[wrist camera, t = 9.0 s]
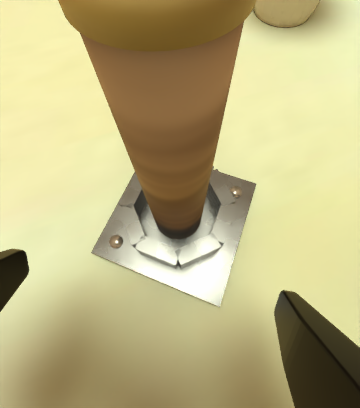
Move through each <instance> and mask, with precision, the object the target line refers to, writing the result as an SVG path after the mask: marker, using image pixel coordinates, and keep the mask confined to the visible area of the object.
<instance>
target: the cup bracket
mask: <svg viewBox="0 0 360 408" xmlns="http://www.w3.org/2000/svg"><path fill="white" fill-rule="evenodd" d="M213 168H214V166H213V167H212V171H211V176H210V180H209V185H208V190H207V194H206V199H205V204H204V208H203V213H202V217H201V222H200V225H199V227H198V229H197V231H196V232H195V233H194V234H193V235H191V236H190V237H187V238H185V239H178V240H177V239H171V238H168V237H166V236H165V235H163V234H162V233H161V232H160V231H159V229H158V227H157V225H156V223H155V220H154V218H153V215H152V212H151V210H150V207H149V205H148V202H147V200H146V197H145V195H144V192H143V190H142V187H141V185H140V182H139V180H138V177H137V175H136V172H135V173H134V174H133V176H132V178H131V180H130V182H129V184H128V186H127V187H126V189H125V191H124V193H123V195H122V197H121V198H120V200H119V202H118V204H117V206H116V208H115V210H114V211H113V213H112V215H111V217H110V219H109V221H108V222H107V224H106V226H105V228H104V230H103V232H102V233H101V235H100V237H99V239H98V241H97V243H96V245H95V246H94V248H93V250H92V252H91V253H93V254H95V255H98V256H100V257H103V258H105V259H107V260H110V261H112V262H114V263H117V264H119V265H121V266H124V267H126V268H129V269H131V270H133V271H136V272H138V273H140V274H143V275H145V276H147V277H150V278H152V279H155V280H157V281H159V282H162V283H164V284H166V285H169V286H171V287H173V288H176V289H178V290H181V291H183V292H185V293H188V294H190V295H192V296H195V297H197V298H200V299H202V300H204V301H207V302H209V303H211V304H214V305H216V306H218V307H220V305H221V301H222V298H223V295H224V291H225V288H226V284H227V281H228V278H229V274H230V271H231V267H232V264H233V261H234V257H235V254H236V251H237V247H238V244H239V240H240V237H241V234H242V230H243V227H244V223H245V220H246V217H247V213H248V210H249V206H250V203H251V200H252V196H253V193H254V190H255V186H256V184H255V183H252V182H249V181H246V180H243V179H240V178H236V177H233V176H230V175H227V174H224V173H221V172H219V171H218V170H217V169H216V170H213Z"/></svg>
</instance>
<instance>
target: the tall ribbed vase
mask: <svg viewBox="0 0 360 408" xmlns="http://www.w3.org/2000/svg"><path fill="white" fill-rule="evenodd" d="M58 1H59V3H60V6H61V8H62V10H63V13H64V15H65V17H66V19H67V20H68V21H69V23H70V24H71V25H72V26H73V27H74V28H75V29H76V30H77V31H79V32H80V34H81V37H82V39H83V42H84V44H85V47H86V49H87V52H88V54H89V57H90V59H91V62H92V64H93V67H94V69H95V72H96V74H97V77H98V79H99V82H100V84H101V87H102V89H103V92H104V94H105V97H106V99H107V102H108V104H109V107H110V109H111V112H112V114H113V117H114V119H115V122H116V124H117V127H118V130H119V132H120V135H121V137H122V140H123V142H124V145H125V147H126V150H127V152H128V155H129V157H130V160H131V162H132V165H133V167H134V170H135V172H136V175H137V177H138V180H139V182H140V185H141V187H142V190H143V192H144V195H145V197H146V200H147V202H148V205H149V207H150V210H151V212H152V215H153V218H154V220H155V223H156V225H157V227H158V229H159V231H160V232H161V233H162V234H163V235H165V236H166V237H168V238H171V239H177V240H178V239H185V238H187V237H190V236H191V235H193V234H194V233H195V232H196V231H197V229H198V227H199V225H200V222H201V217H202V213H203V208H204V204H205V199H206V194H207V190H208V185H209V180H210V176H211V171H212V167H213V162H214V157H215V153H216V148H217V143H218V139H219V134H220V130H221V125H222V120H223V116H224V111H225V106H226V102H227V97H228V93H229V88H230V83H231V79H232V74H233V69H234V65H235V60H236V56H237V51H238V46H239V42H240V37H241V32H242V28H243V23H244V20H245V19H246V18H247V17H248V16H249V14H250V13H251V11H252V10H253V8H254V6H255V3H256V1H257V0H58Z"/></svg>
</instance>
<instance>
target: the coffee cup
mask: <svg viewBox="0 0 360 408" xmlns="http://www.w3.org/2000/svg"><path fill="white" fill-rule="evenodd" d="M319 1H320V0H257V1H256V3H255V7H254V12H255V14H256V16H257V17H258V18H259V19H260V20H261V21H263V22H265V23H267V24H269V25H273V26H276V27H295V26H298V25H301V24H303V23H304V22H305V21H307V20H308V18H309V16H310V14H311V13H312V12H314V10H315V8H316V7H317V5H318V3H319Z"/></svg>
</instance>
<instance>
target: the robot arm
mask: <svg viewBox="0 0 360 408" xmlns="http://www.w3.org/2000/svg"><path fill="white" fill-rule="evenodd" d="M28 272H29V266H28V260H27V255H26V252H25V251H23V250H19V249H9V250H6V251H2V252H0V312H1V310H2V309H3V308H4V306H5V305H6V304H7V302H8V301H9V300H10V298H11V297H12V296H13V294H14V293H15V292H16V290H17V289H18V287H19V286H20V285H21V283H22V282H23V281H24V279H25V278H26V277H27V275H28ZM274 316H275V322H276V327H277V333H278V339H279V344H280V350H281V356H282V361H283V366H284V370H285V374H286V378H287V381H288V385H289V388H290V392H291V396H292V399H293V403H294V406H295V408H360V347H358V346H357V345H356V344H355V343H354V342H353V341H351V340H350V339H349V338H348V337H347V336H346V335H344V334H343V333H342V332H341V331H340V330H339V329H337V328H336V327H335V326H334V325H333V324H332V323H330V322H329V321H328V320H327V319H326V318H325V317H324V316H322V315H321V314H320V313H319V312H318V311H317V310H315V309H314V308H313V307H312V306H311V305H310V304H308V303H307V302H306V301H305V300H304V299H303V298H301V297H300V296H299V295H298V294H297V293H295V292H292V291H285V290H283V291H281V292H280V294H279V297H278V300H277V304H276V307H275V311H274Z"/></svg>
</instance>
